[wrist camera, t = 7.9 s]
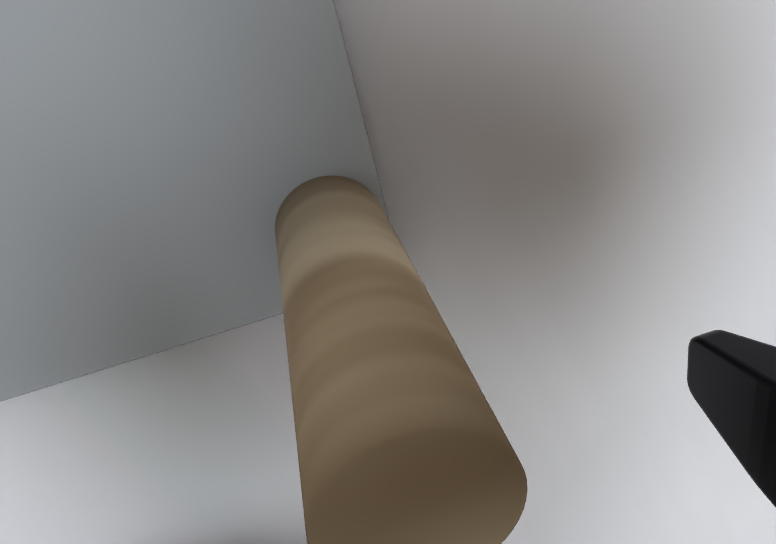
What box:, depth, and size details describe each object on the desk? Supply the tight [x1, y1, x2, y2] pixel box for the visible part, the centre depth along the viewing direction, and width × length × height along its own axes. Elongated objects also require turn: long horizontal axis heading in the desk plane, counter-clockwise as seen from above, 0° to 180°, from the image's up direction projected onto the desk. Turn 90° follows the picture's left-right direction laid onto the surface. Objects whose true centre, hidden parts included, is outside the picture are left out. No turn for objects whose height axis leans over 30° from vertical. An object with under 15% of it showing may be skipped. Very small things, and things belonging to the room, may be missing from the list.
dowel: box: [275, 176, 527, 544], centre depth 11 cm, size 3×3×9 cm
